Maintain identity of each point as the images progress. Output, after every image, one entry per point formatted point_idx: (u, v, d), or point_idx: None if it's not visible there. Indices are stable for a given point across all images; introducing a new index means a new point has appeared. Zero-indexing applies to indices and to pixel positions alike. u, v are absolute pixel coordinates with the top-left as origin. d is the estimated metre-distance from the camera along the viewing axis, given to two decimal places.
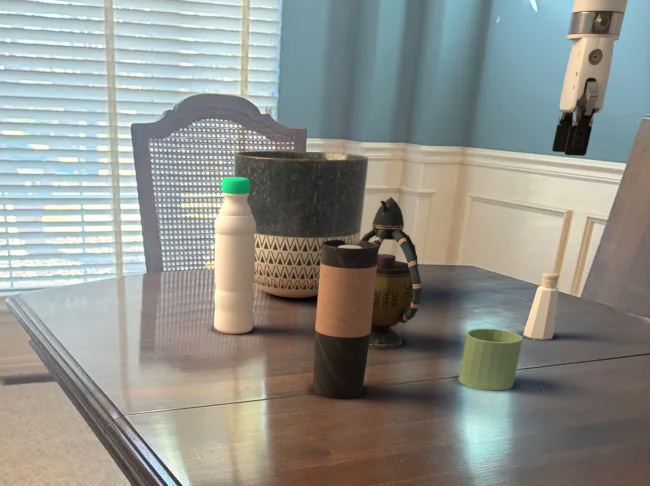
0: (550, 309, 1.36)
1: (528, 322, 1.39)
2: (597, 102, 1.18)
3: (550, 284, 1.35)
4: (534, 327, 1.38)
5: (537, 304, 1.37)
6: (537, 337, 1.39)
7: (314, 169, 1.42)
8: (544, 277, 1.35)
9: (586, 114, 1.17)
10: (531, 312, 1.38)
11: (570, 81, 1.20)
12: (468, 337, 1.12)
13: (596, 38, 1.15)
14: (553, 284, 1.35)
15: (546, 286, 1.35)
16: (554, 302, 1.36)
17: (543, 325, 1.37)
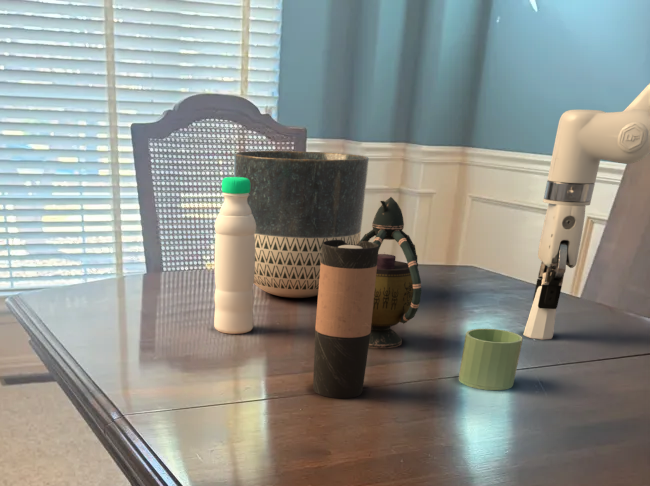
0: (550, 309, 1.36)
1: (528, 322, 1.39)
2: (571, 260, 1.29)
3: None
4: (534, 327, 1.38)
5: (537, 304, 1.37)
6: (537, 337, 1.39)
7: (314, 169, 1.42)
8: (544, 277, 1.35)
9: (556, 277, 1.31)
10: (531, 312, 1.38)
11: (546, 239, 1.31)
12: (468, 337, 1.12)
13: (569, 206, 1.26)
14: None
15: None
16: None
17: (543, 325, 1.37)
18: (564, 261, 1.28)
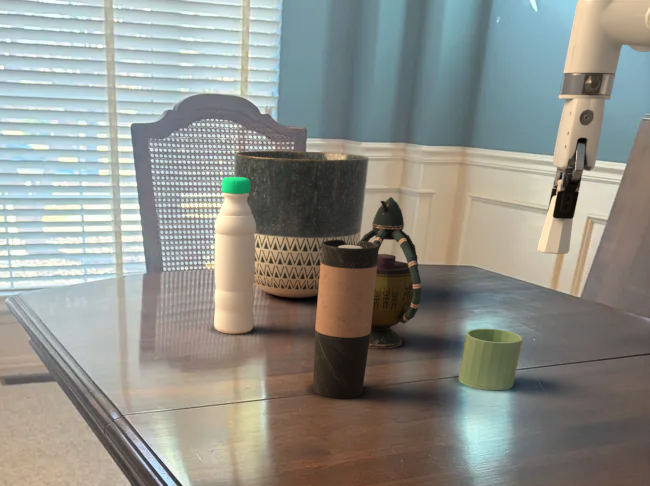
0: (566, 220, 1.26)
1: (542, 236, 1.29)
2: (589, 161, 1.19)
3: None
4: (548, 240, 1.28)
5: (552, 214, 1.26)
6: (552, 251, 1.28)
7: (314, 169, 1.42)
8: (559, 184, 1.25)
9: (572, 181, 1.21)
10: (545, 224, 1.28)
11: (562, 140, 1.21)
12: (468, 337, 1.12)
13: (587, 99, 1.16)
14: None
15: None
16: None
17: (559, 238, 1.27)
18: (581, 161, 1.18)
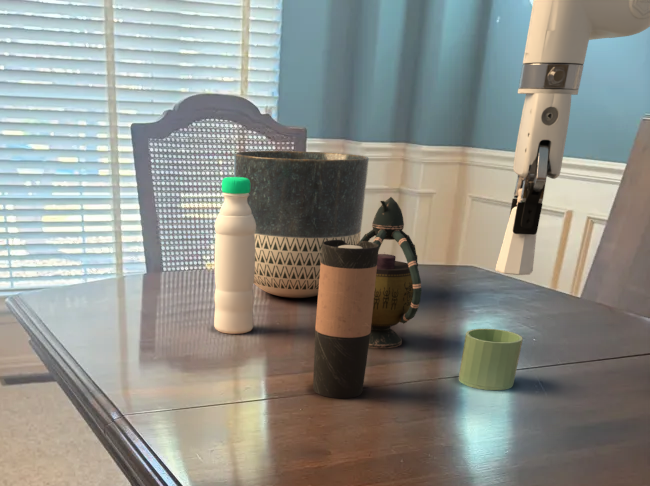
0: (528, 236, 1.08)
1: (501, 253, 1.11)
2: (553, 167, 1.01)
3: None
4: (508, 259, 1.09)
5: (512, 228, 1.08)
6: (512, 272, 1.10)
7: (314, 169, 1.42)
8: (520, 194, 1.06)
9: (534, 191, 1.02)
10: (504, 240, 1.10)
11: (522, 142, 1.02)
12: (468, 337, 1.12)
13: (550, 94, 0.97)
14: None
15: None
16: None
17: (520, 256, 1.09)
18: (544, 167, 1.00)
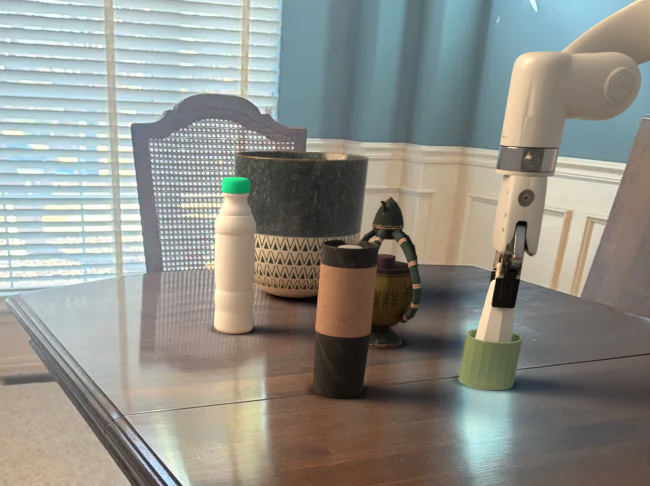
0: (507, 309, 1.09)
1: (480, 325, 1.12)
2: (530, 247, 1.02)
3: None
4: (487, 331, 1.11)
5: (491, 302, 1.09)
6: None
7: (314, 169, 1.42)
8: (498, 268, 1.08)
9: (512, 268, 1.04)
10: (483, 312, 1.11)
11: (500, 220, 1.04)
12: (468, 337, 1.12)
13: (526, 177, 0.99)
14: None
15: None
16: None
17: (498, 329, 1.10)
18: (521, 248, 1.01)
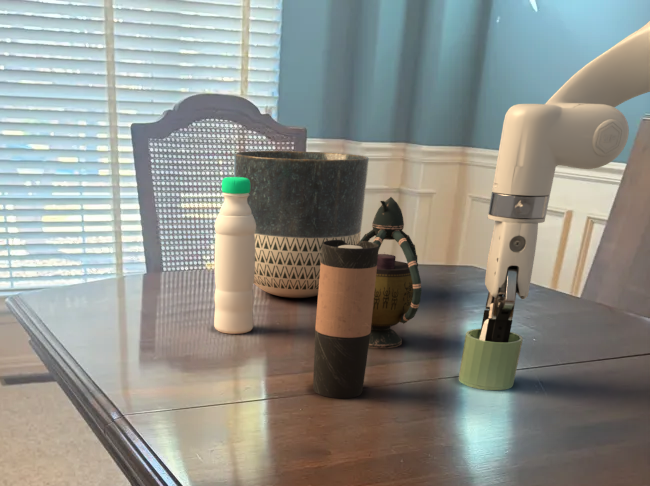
0: None
1: None
2: (521, 290, 1.05)
3: None
4: None
5: None
6: None
7: (314, 169, 1.42)
8: (491, 309, 1.11)
9: (504, 311, 1.06)
10: None
11: (492, 264, 1.06)
12: (468, 337, 1.12)
13: (517, 224, 1.01)
14: None
15: None
16: None
17: None
18: (513, 290, 1.04)
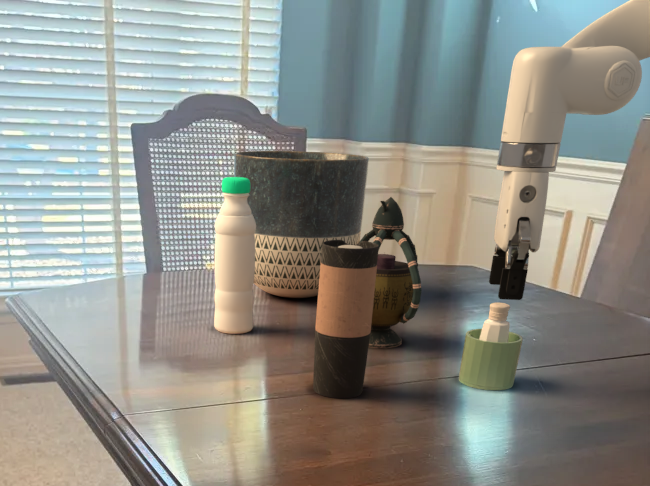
0: None
1: None
2: (532, 243, 1.02)
3: (499, 317, 1.10)
4: None
5: None
6: None
7: (314, 169, 1.42)
8: (491, 309, 1.11)
9: (519, 259, 1.01)
10: None
11: (501, 217, 1.03)
12: (468, 337, 1.12)
13: (527, 173, 0.98)
14: (502, 317, 1.10)
15: (494, 320, 1.11)
16: (504, 339, 1.12)
17: None
18: (527, 226, 1.00)
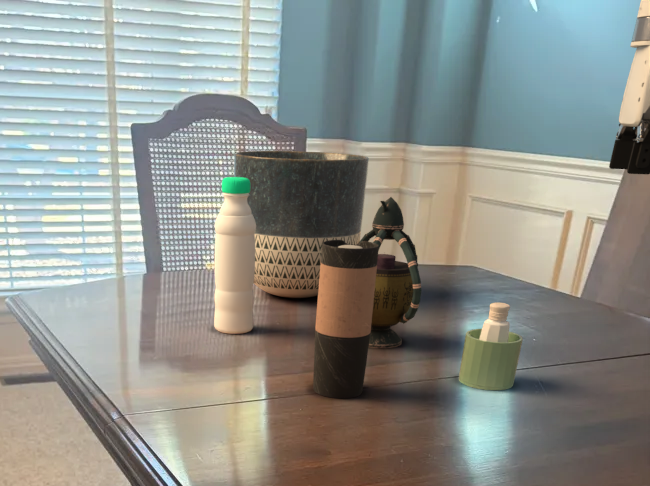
0: None
1: None
2: None
3: (499, 317, 1.10)
4: None
5: None
6: None
7: (314, 169, 1.42)
8: (491, 309, 1.11)
9: None
10: None
11: (634, 93, 1.09)
12: (468, 337, 1.12)
13: None
14: (502, 317, 1.10)
15: (494, 320, 1.11)
16: (504, 339, 1.12)
17: None
18: None
